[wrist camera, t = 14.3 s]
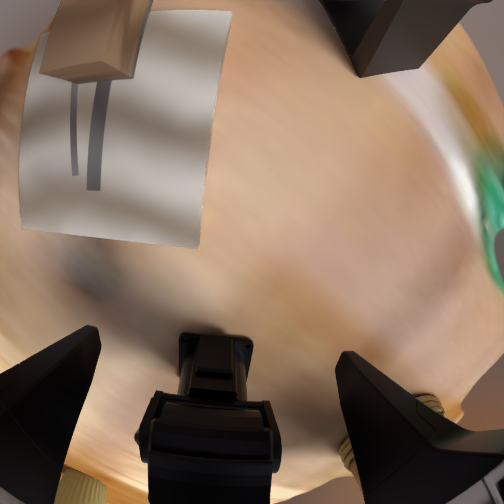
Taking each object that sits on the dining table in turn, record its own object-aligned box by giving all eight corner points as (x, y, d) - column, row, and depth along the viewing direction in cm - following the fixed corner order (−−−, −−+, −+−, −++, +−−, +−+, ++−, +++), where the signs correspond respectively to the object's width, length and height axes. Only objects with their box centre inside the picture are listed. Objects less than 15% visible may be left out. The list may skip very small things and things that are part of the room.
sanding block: (133, 78, 14) (101, 60, 10) (78, 84, 14) (38, 73, 9) (154, -4, 12) (134, -37, 7) (100, 4, 11) (70, -21, 7)
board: (199, 243, 20) (197, 249, 19) (29, 224, 18) (21, 228, 17) (231, 18, 14) (231, 11, 13) (47, 37, 12) (40, 33, 11)
